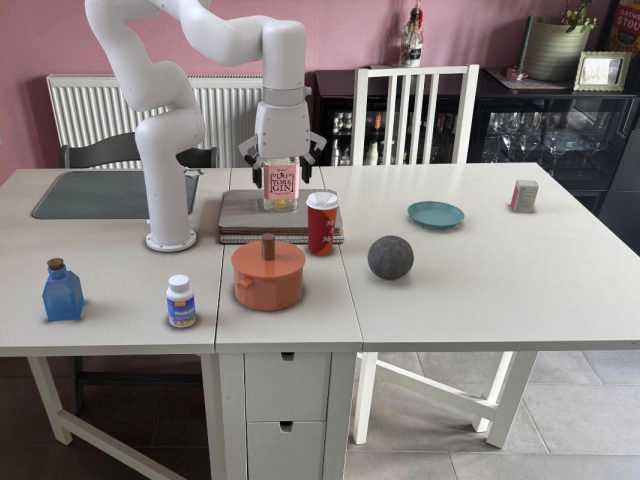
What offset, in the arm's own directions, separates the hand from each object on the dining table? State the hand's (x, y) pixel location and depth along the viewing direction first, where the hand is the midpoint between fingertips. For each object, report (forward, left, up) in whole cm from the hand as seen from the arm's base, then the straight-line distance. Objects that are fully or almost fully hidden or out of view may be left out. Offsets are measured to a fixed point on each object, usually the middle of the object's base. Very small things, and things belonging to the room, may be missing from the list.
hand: (282, 183), depth 113 cm
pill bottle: (-4, -24, -24) cm, 34 cm away
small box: (+17, +76, -24) cm, 82 cm away
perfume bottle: (-23, -40, -24) cm, 52 cm away
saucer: (+5, +52, -24) cm, 58 cm away
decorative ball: (+14, +20, -24) cm, 35 cm away
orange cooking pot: (0, -4, -24) cm, 24 cm away
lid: (0, -4, -16) cm, 16 cm away
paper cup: (-5, +18, -24) cm, 31 cm away
